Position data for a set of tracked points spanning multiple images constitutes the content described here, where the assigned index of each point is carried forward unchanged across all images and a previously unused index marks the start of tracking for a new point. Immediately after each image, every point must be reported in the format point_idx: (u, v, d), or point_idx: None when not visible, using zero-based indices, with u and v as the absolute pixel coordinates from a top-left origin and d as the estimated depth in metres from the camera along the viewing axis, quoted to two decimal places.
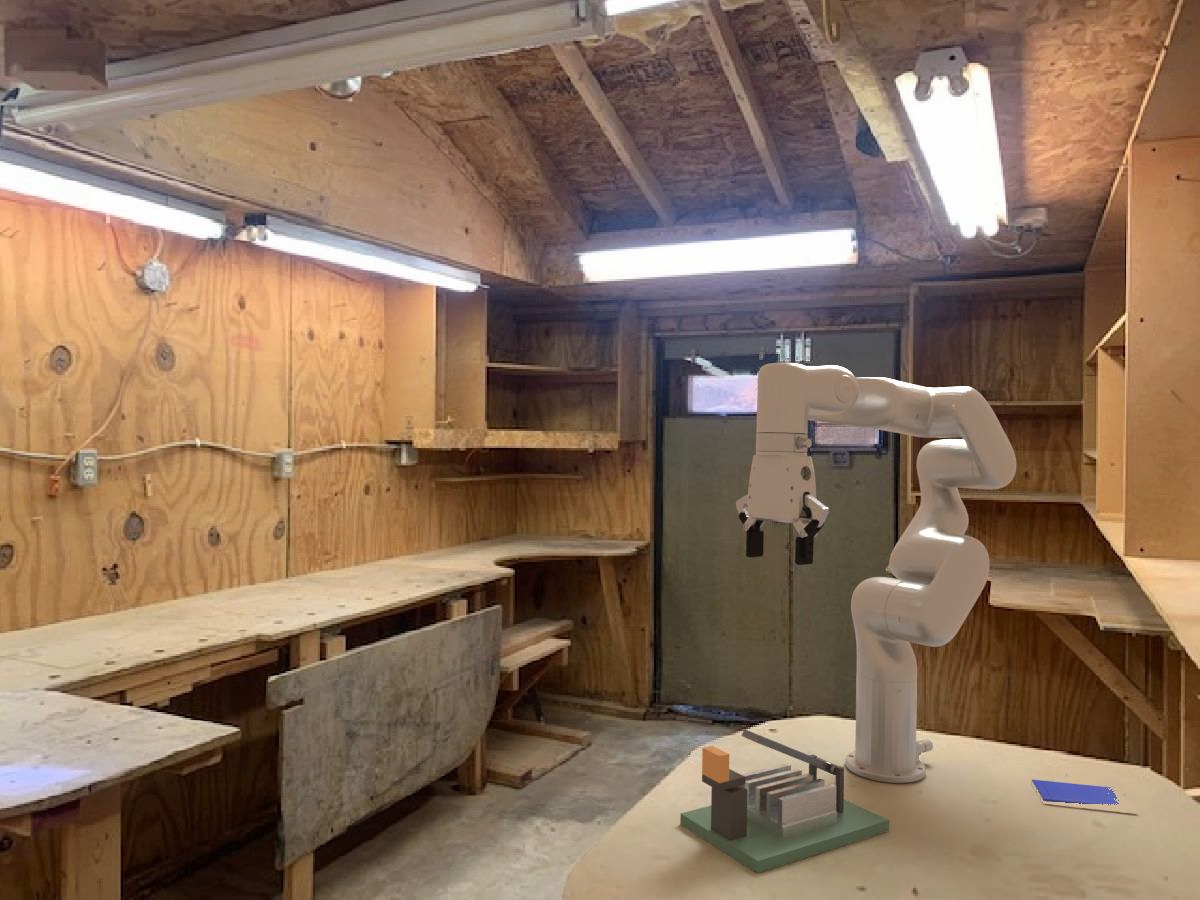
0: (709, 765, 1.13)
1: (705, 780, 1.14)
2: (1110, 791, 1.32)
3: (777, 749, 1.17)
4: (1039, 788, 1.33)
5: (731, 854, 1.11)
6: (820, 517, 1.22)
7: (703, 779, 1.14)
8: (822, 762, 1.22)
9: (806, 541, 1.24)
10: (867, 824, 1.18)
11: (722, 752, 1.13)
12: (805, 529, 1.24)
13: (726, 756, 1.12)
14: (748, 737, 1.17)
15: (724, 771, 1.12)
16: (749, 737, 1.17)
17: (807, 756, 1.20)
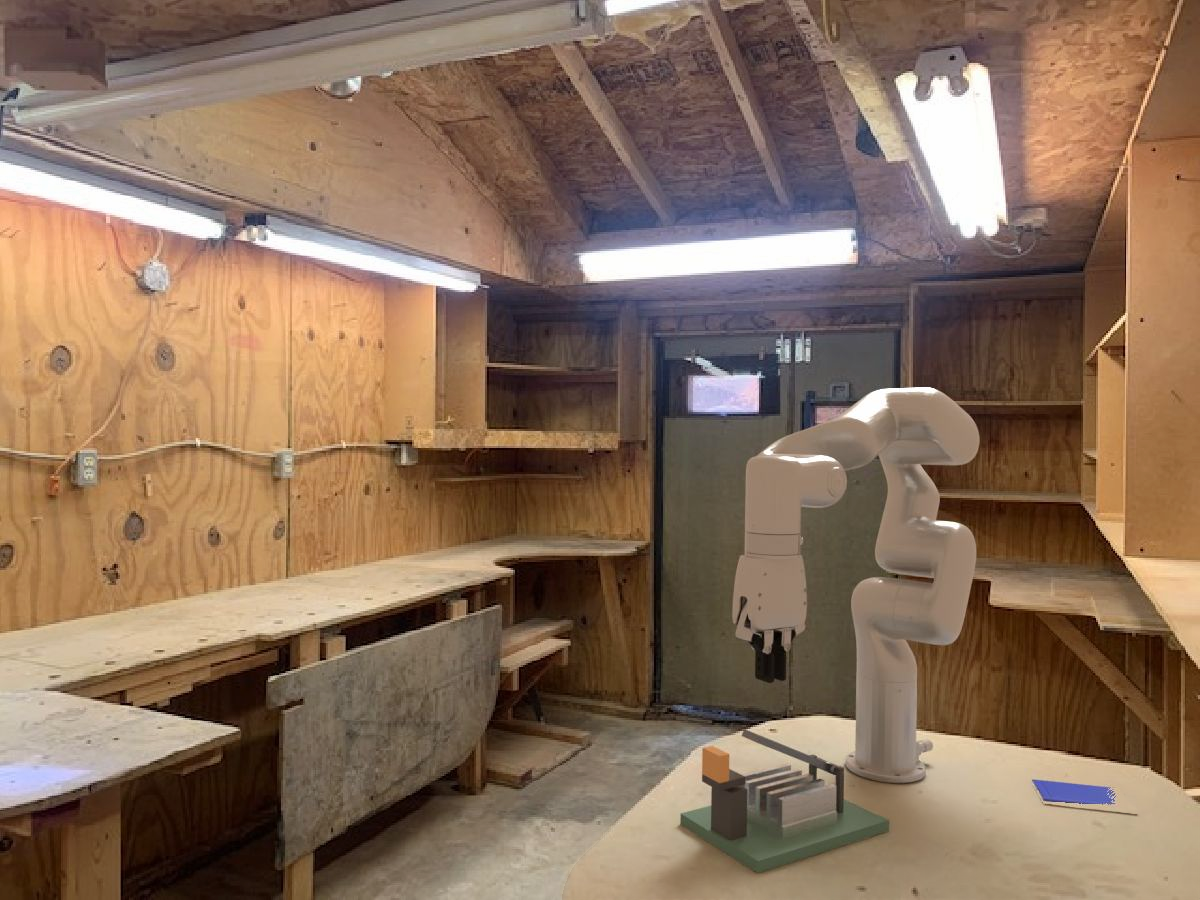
0: (709, 765, 1.13)
1: (705, 780, 1.14)
2: (1110, 791, 1.32)
3: (777, 749, 1.17)
4: (1039, 788, 1.33)
5: (731, 854, 1.11)
6: None
7: (703, 779, 1.14)
8: (822, 762, 1.22)
9: None
10: (867, 824, 1.18)
11: (722, 752, 1.13)
12: None
13: (726, 756, 1.12)
14: (748, 737, 1.17)
15: (724, 771, 1.12)
16: (749, 737, 1.17)
17: (807, 756, 1.20)
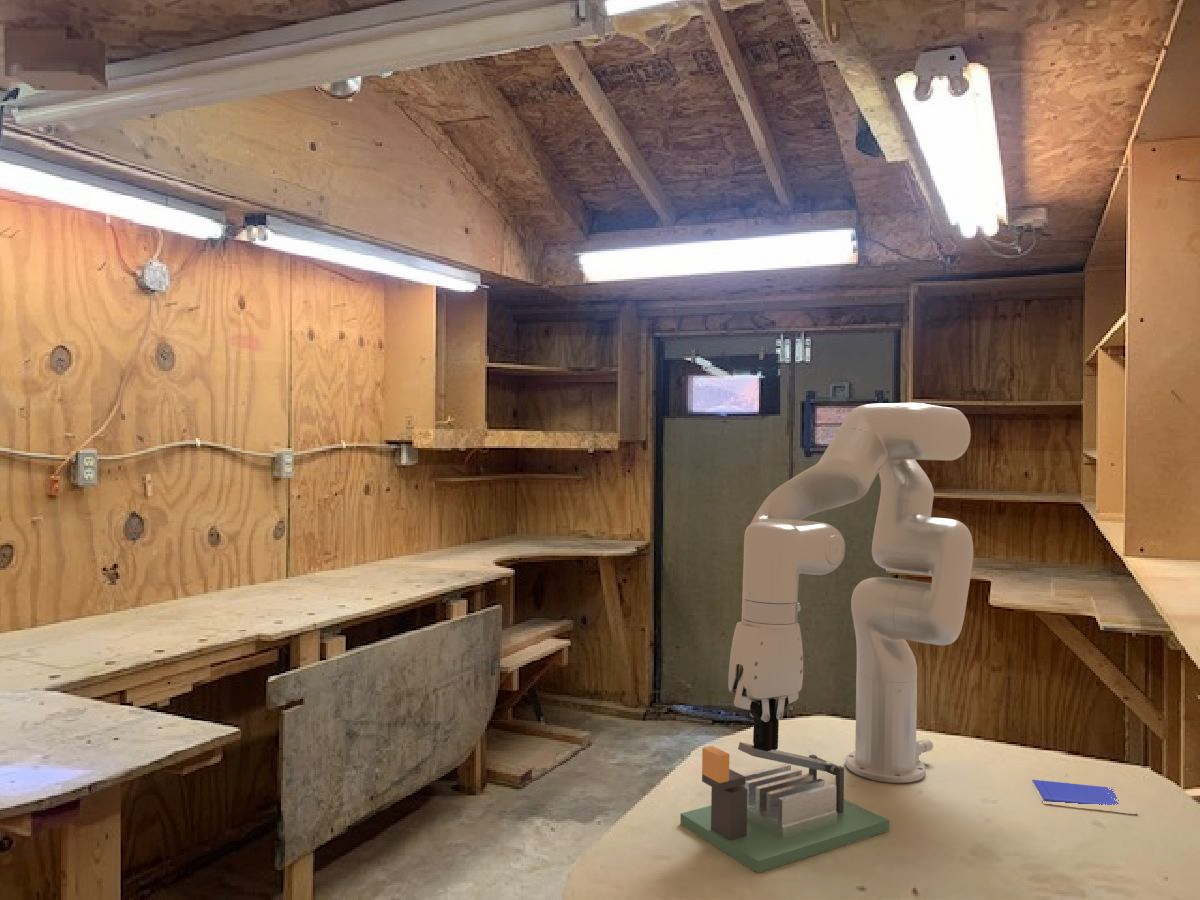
0: (709, 765, 1.13)
1: (705, 780, 1.14)
2: (1111, 791, 1.32)
3: (774, 759, 1.17)
4: (1039, 788, 1.33)
5: (731, 854, 1.11)
6: (791, 702, 1.20)
7: (703, 779, 1.14)
8: (821, 764, 1.22)
9: None
10: (867, 824, 1.18)
11: (722, 752, 1.13)
12: None
13: (726, 756, 1.12)
14: (744, 750, 1.16)
15: (724, 771, 1.12)
16: (745, 750, 1.16)
17: (805, 761, 1.20)
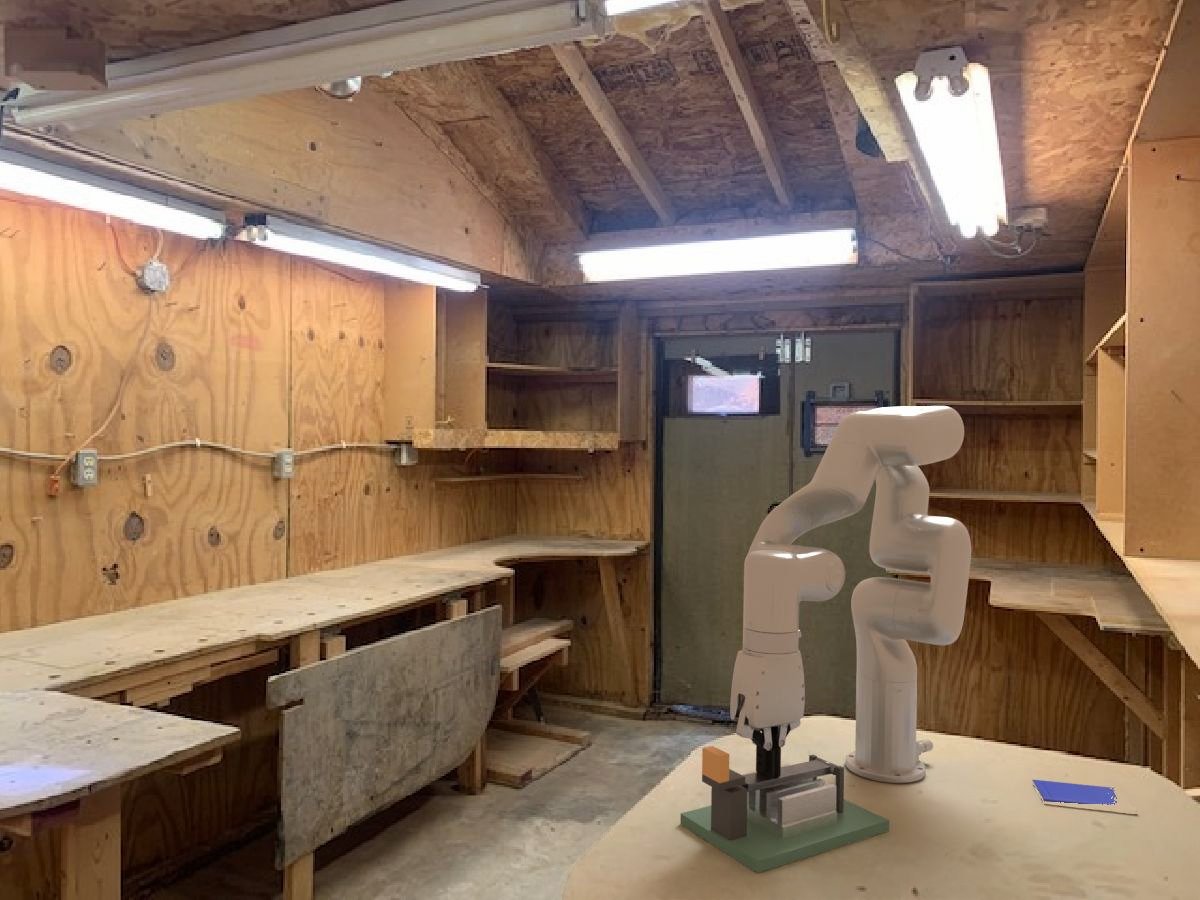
0: (709, 765, 1.13)
1: (705, 780, 1.14)
2: (1111, 791, 1.32)
3: (771, 785, 1.17)
4: (1040, 788, 1.33)
5: (731, 854, 1.11)
6: None
7: (703, 779, 1.14)
8: (820, 770, 1.22)
9: None
10: (867, 824, 1.18)
11: (722, 752, 1.13)
12: None
13: (726, 756, 1.12)
14: None
15: (724, 771, 1.12)
16: None
17: (803, 774, 1.20)
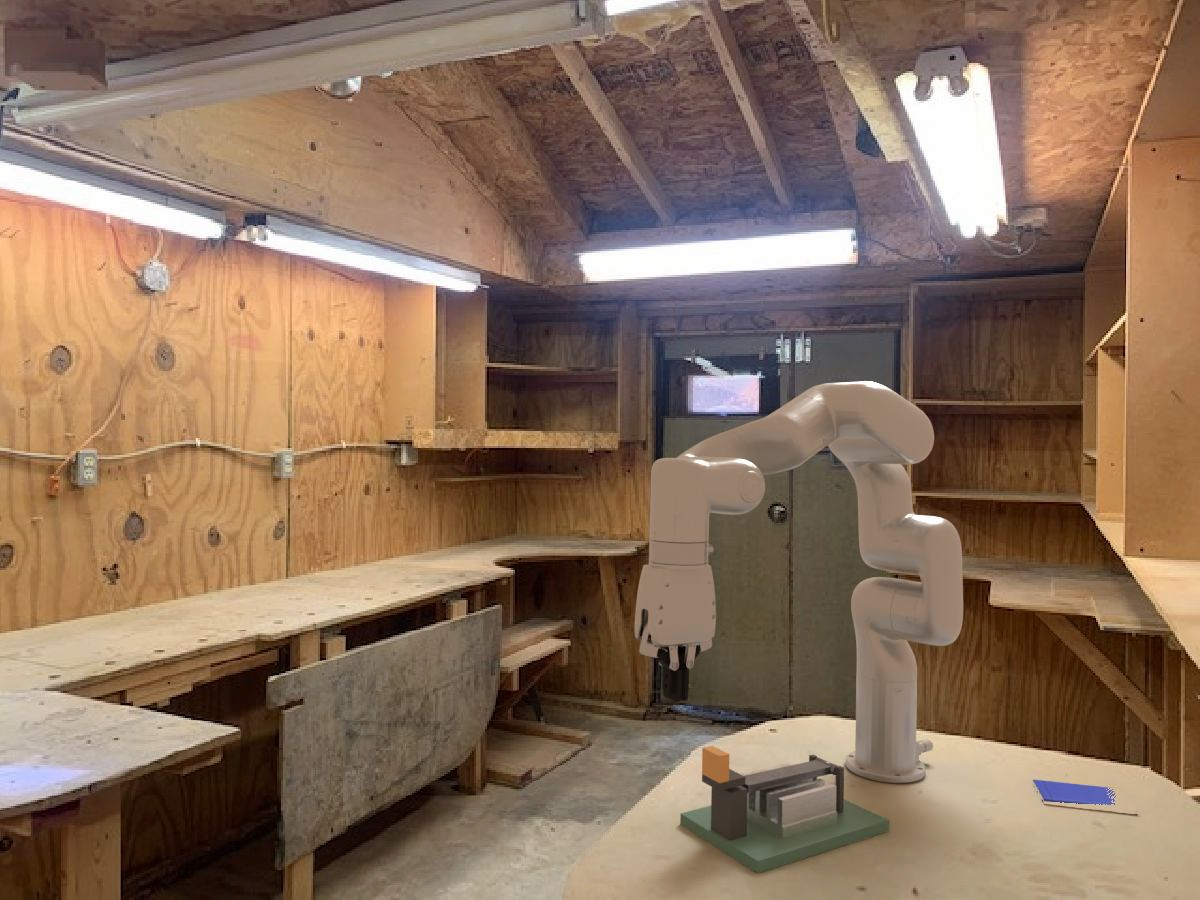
0: (709, 765, 1.13)
1: (705, 780, 1.14)
2: (1111, 792, 1.32)
3: (771, 786, 1.17)
4: (1040, 788, 1.33)
5: (731, 854, 1.11)
6: (704, 650, 1.12)
7: (703, 779, 1.14)
8: (820, 770, 1.22)
9: None
10: (867, 824, 1.18)
11: (722, 752, 1.13)
12: None
13: (726, 756, 1.12)
14: None
15: (724, 771, 1.12)
16: None
17: (803, 774, 1.20)
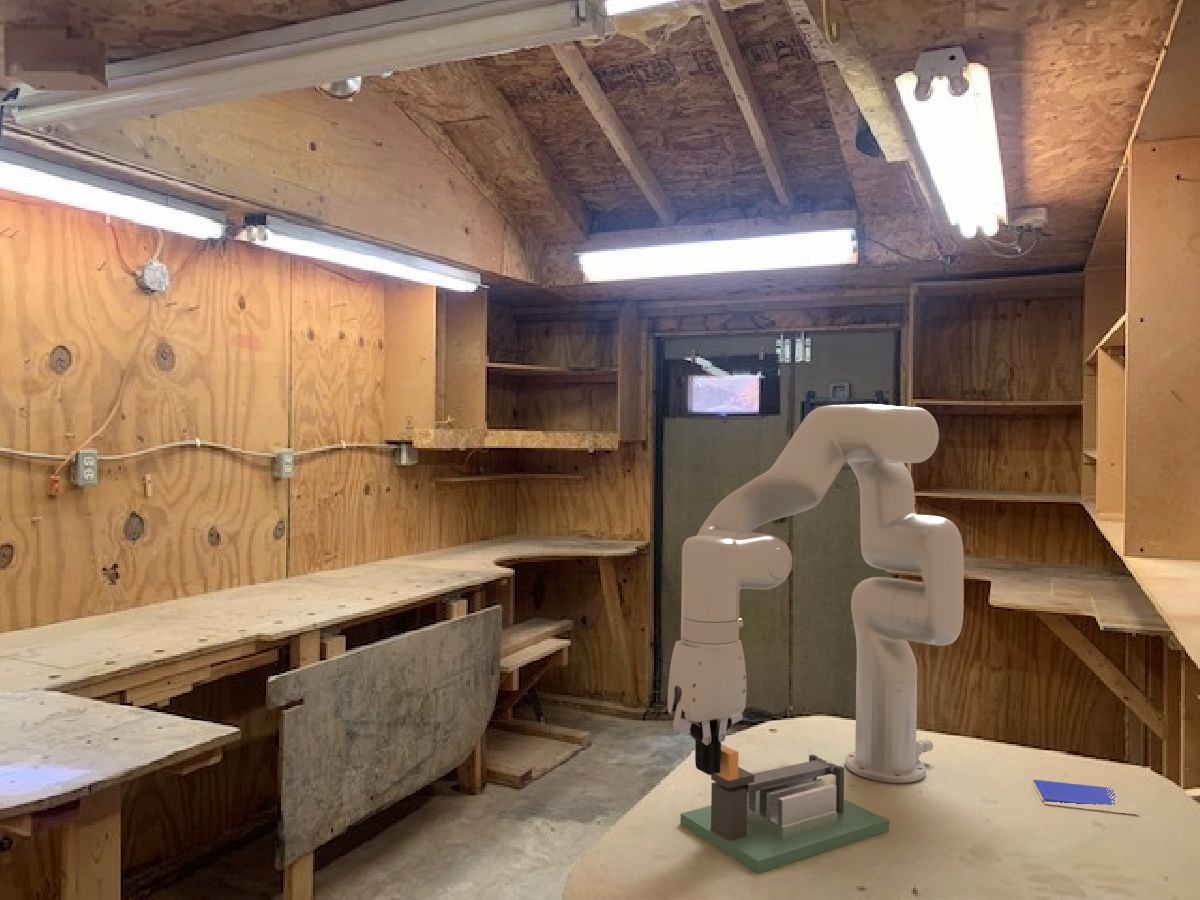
0: None
1: (714, 778, 1.15)
2: (1112, 792, 1.32)
3: (771, 786, 1.17)
4: (1040, 788, 1.33)
5: (731, 854, 1.11)
6: (735, 722, 1.15)
7: (712, 777, 1.15)
8: (820, 770, 1.22)
9: None
10: (867, 824, 1.18)
11: (731, 750, 1.14)
12: None
13: (735, 754, 1.13)
14: None
15: (733, 769, 1.13)
16: None
17: (803, 774, 1.20)
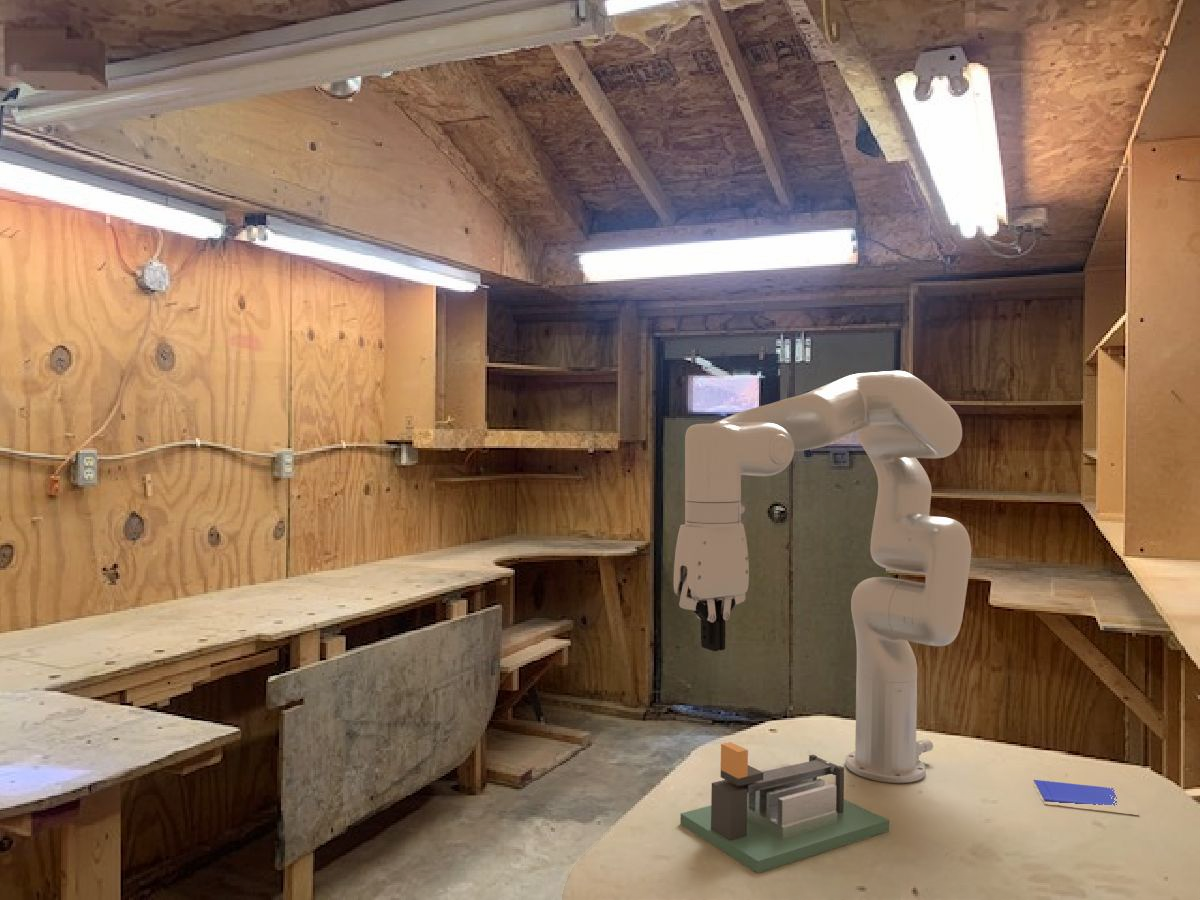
0: (728, 761, 1.15)
1: (724, 776, 1.16)
2: (1112, 792, 1.32)
3: (771, 786, 1.17)
4: (1041, 788, 1.33)
5: (731, 854, 1.11)
6: (738, 603, 1.19)
7: (722, 775, 1.16)
8: (820, 770, 1.22)
9: None
10: (867, 824, 1.18)
11: (740, 748, 1.15)
12: None
13: (745, 752, 1.14)
14: None
15: (743, 767, 1.14)
16: None
17: (803, 774, 1.20)
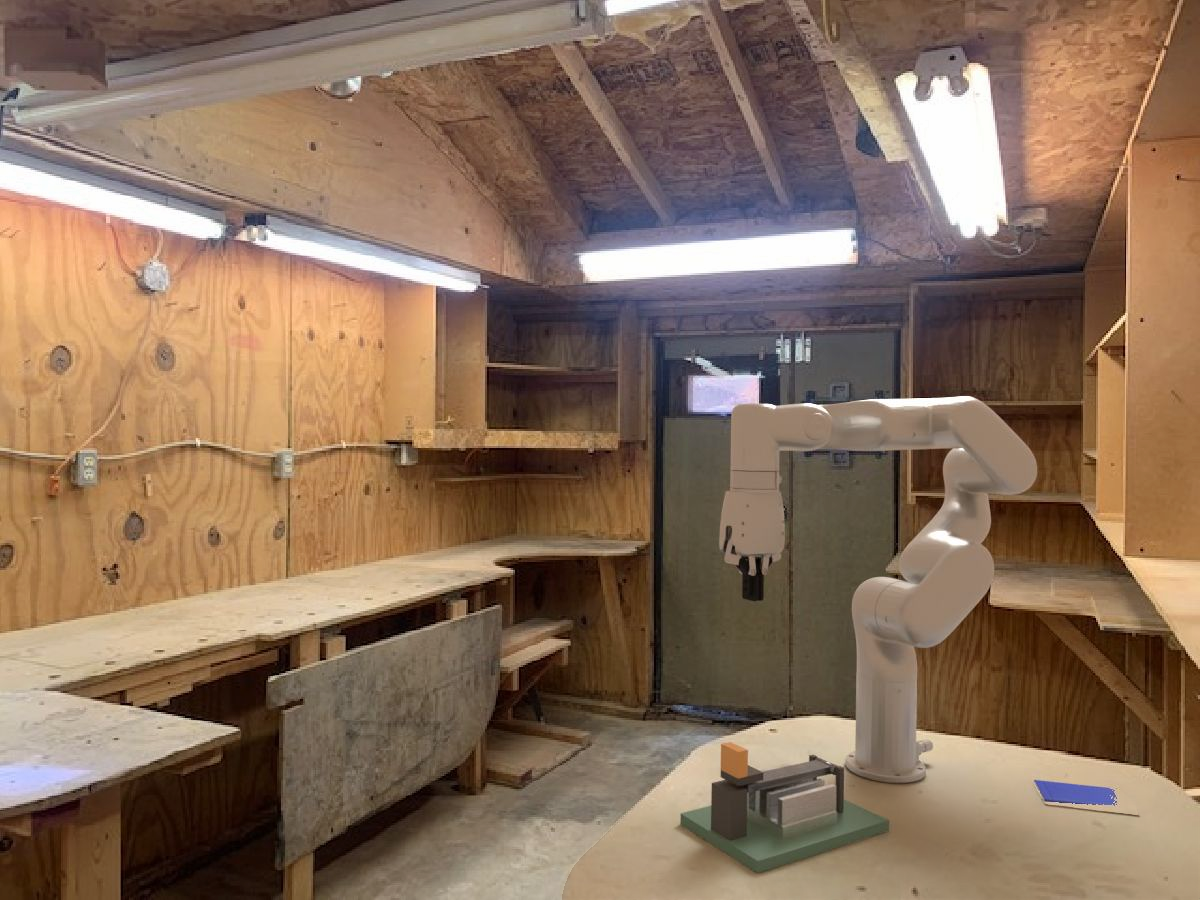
0: (728, 761, 1.15)
1: (724, 776, 1.16)
2: (1113, 792, 1.32)
3: (771, 786, 1.17)
4: (1041, 788, 1.33)
5: (731, 854, 1.11)
6: None
7: (722, 775, 1.16)
8: (820, 770, 1.22)
9: None
10: (867, 824, 1.18)
11: (740, 748, 1.15)
12: None
13: (745, 752, 1.14)
14: None
15: (743, 767, 1.14)
16: None
17: (803, 774, 1.20)
